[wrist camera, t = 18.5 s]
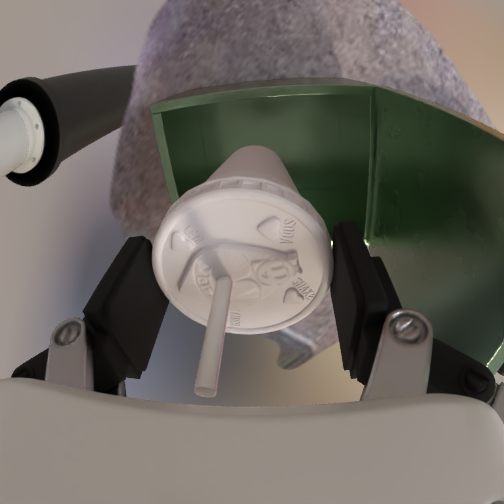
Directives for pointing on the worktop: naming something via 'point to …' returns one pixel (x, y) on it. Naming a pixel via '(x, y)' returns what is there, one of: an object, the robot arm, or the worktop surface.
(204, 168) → the caddy
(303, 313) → the smoothie
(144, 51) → the worktop surface
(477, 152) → the lid
